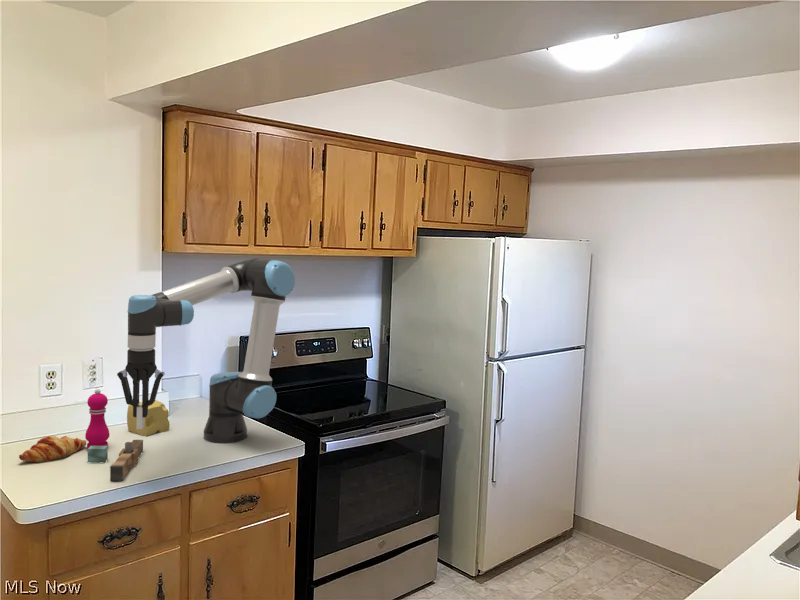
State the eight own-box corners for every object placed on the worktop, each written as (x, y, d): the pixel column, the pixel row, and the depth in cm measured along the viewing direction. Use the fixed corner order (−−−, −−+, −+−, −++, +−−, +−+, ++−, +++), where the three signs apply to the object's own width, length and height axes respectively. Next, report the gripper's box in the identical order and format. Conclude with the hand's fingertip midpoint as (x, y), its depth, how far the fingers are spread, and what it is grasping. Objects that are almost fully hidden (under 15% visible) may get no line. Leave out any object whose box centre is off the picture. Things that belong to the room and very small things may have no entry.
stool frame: (143, 451, 212) (143, 430, 211) (132, 466, 199) (132, 444, 199) (97, 451, 210) (98, 430, 209) (84, 466, 197) (84, 444, 197)
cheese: (169, 430, 235) (170, 403, 234) (144, 437, 226) (144, 409, 225) (151, 424, 241) (151, 398, 239) (125, 431, 232) (125, 404, 230)
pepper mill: (99, 453, 209) (99, 392, 206) (80, 450, 210) (80, 390, 208) (114, 446, 216) (114, 387, 213) (95, 443, 217) (95, 385, 215)
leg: (123, 460, 203) (123, 448, 202) (138, 460, 203) (138, 448, 203) (107, 480, 187) (107, 467, 186) (124, 480, 187) (124, 467, 187)
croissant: (80, 455, 215) (74, 432, 217) (97, 447, 210) (90, 424, 212) (15, 472, 197) (8, 447, 199) (31, 464, 192) (24, 438, 194)
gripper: (167, 346, 192) (166, 424, 194) (121, 345, 190) (120, 423, 192) (162, 351, 184) (160, 431, 187) (114, 350, 182) (113, 431, 185)
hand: (140, 427), depth 189 cm, fingers closed
